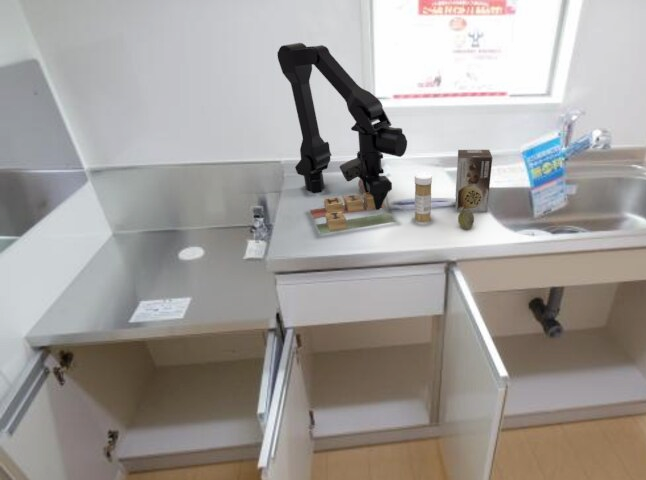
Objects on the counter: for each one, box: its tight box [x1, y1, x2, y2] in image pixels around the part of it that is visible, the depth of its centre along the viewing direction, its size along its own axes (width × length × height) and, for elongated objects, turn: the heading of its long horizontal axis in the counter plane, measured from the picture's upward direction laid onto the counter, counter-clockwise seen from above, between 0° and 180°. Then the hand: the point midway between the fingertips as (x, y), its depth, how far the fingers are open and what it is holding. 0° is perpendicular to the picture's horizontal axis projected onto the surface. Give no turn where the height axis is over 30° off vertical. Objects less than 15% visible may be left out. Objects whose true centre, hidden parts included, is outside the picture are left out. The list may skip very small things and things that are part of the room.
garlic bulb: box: [357, 178, 365, 193], centre depth 138 cm, size 8×7×8 cm
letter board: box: [309, 201, 397, 235], centre depth 125 cm, size 15×22×1 cm
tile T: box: [362, 192, 384, 209], centre depth 129 cm, size 4×4×3 cm
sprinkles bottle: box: [414, 171, 433, 223], centre depth 120 cm, size 5×5×13 cm
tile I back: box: [343, 193, 364, 212], centre depth 128 cm, size 4×4×3 cm
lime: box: [457, 209, 475, 230], centre depth 121 cm, size 4×5×5 cm
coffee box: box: [454, 149, 493, 213], centre depth 127 cm, size 9×6×16 cm
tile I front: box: [325, 211, 347, 231], centre depth 119 cm, size 4×4×3 cm
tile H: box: [323, 196, 344, 213], centre depth 126 cm, size 4×4×3 cm
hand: (373, 203), depth 130 cm, fingers open, 9 cm apart
